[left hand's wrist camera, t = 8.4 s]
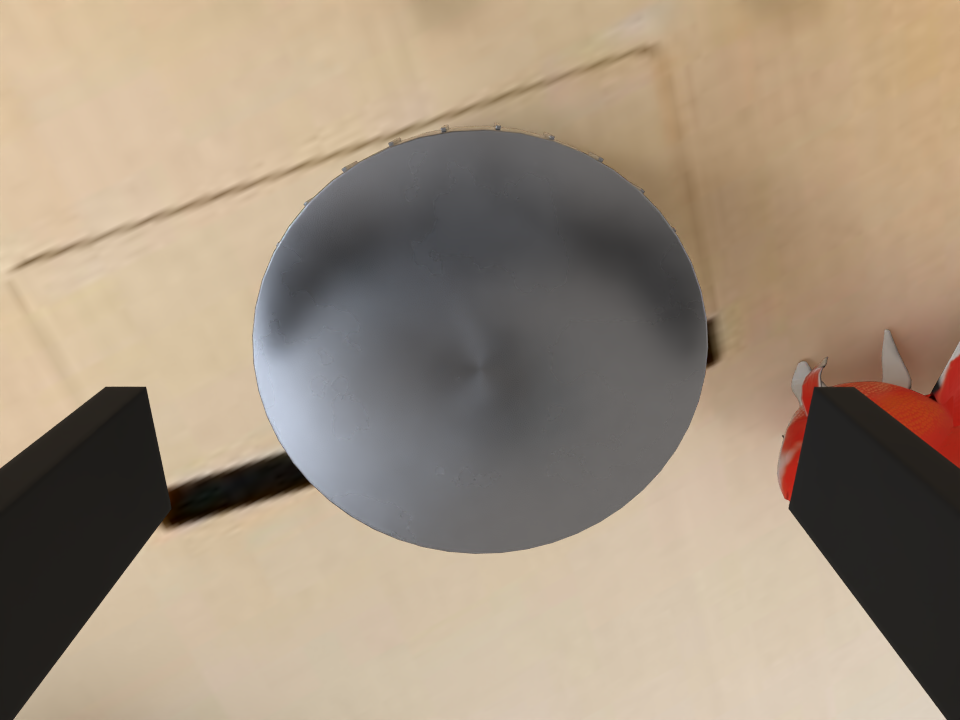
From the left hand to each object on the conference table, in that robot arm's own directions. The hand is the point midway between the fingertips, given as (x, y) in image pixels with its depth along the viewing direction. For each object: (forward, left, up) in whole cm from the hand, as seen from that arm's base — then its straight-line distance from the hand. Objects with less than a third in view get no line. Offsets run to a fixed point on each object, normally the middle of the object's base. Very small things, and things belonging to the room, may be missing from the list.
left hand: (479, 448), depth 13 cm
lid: (0, 0, -4) cm, 4 cm away
